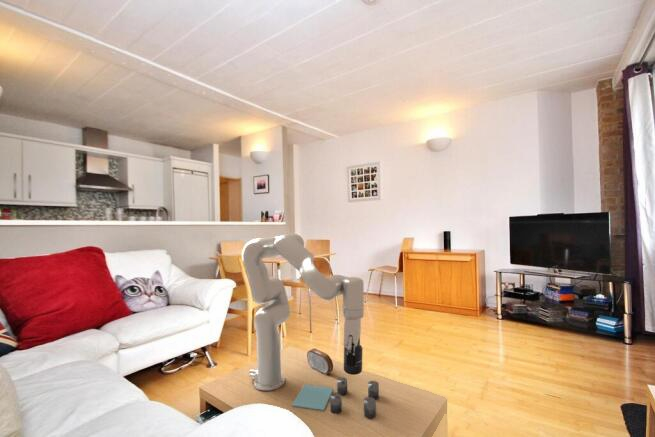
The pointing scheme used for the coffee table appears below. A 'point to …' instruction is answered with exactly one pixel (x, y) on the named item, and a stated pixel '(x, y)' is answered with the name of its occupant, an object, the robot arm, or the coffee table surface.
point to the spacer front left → (335, 403)
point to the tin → (320, 361)
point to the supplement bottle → (358, 368)
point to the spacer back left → (342, 386)
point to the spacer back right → (373, 389)
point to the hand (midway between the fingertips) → (353, 360)
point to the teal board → (313, 397)
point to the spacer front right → (370, 408)
